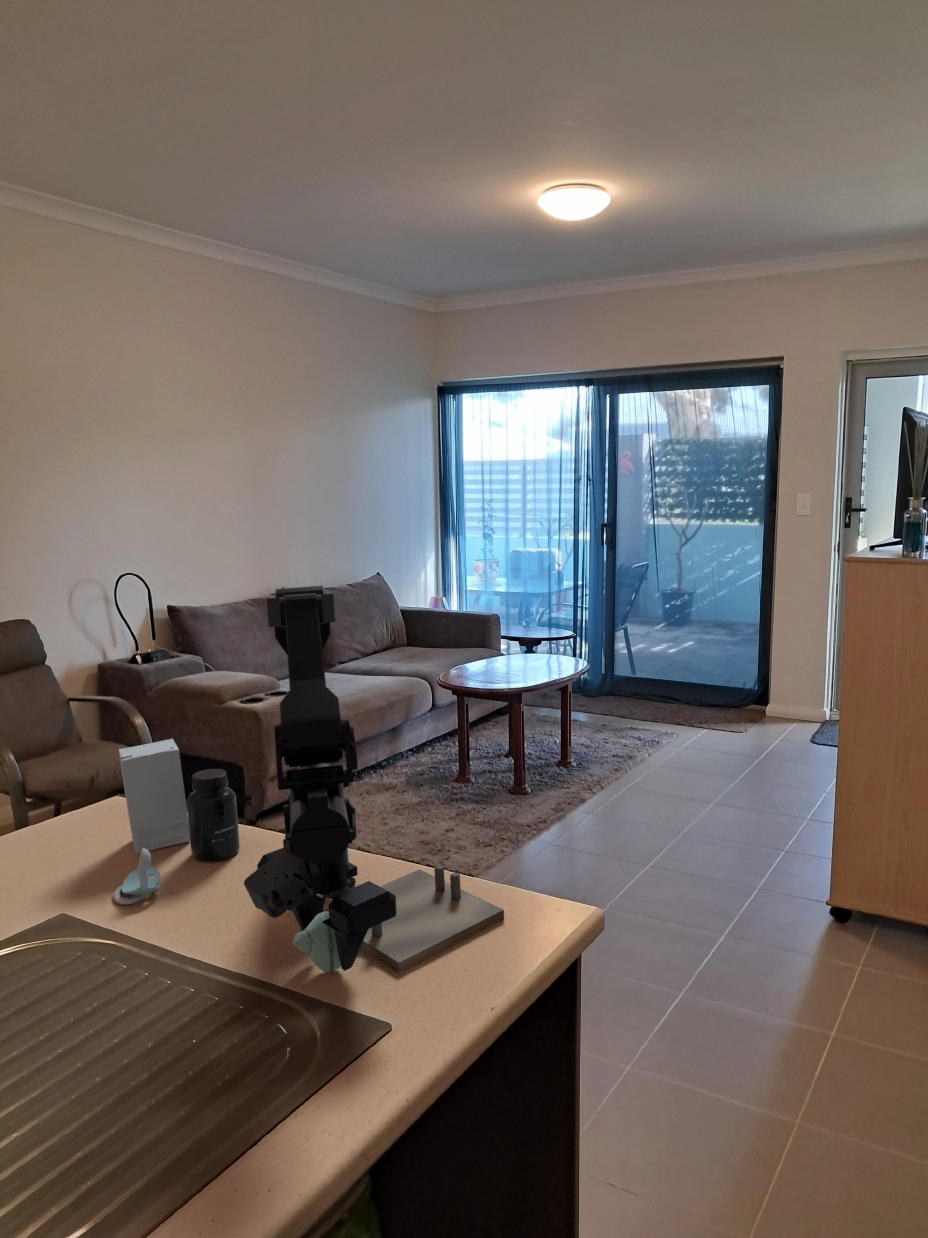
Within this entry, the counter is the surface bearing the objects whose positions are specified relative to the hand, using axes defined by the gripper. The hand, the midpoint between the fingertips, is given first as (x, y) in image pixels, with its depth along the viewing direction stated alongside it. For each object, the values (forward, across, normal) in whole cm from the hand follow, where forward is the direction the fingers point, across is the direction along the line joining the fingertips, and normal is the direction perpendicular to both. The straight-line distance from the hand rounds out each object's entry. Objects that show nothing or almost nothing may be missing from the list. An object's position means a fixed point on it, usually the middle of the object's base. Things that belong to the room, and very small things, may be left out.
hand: (329, 957), depth 103 cm
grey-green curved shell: (+2, 0, 0) cm, 2 cm away
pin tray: (+2, -2, +13) cm, 13 cm away
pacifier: (+2, -34, -7) cm, 35 cm away
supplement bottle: (+2, -38, +6) cm, 39 cm away
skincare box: (+2, -48, +2) cm, 48 cm away
